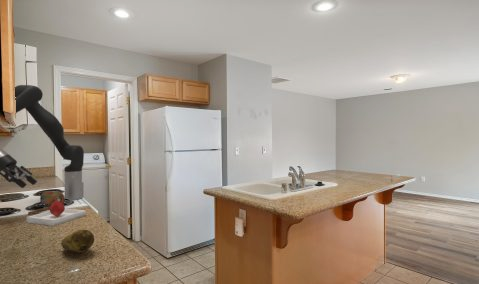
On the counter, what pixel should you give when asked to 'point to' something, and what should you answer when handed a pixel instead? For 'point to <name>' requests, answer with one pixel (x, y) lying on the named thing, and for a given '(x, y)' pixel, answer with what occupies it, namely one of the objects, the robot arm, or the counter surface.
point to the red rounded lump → (57, 208)
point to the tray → (52, 220)
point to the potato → (78, 241)
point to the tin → (51, 197)
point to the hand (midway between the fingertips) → (30, 184)
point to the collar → (38, 211)
